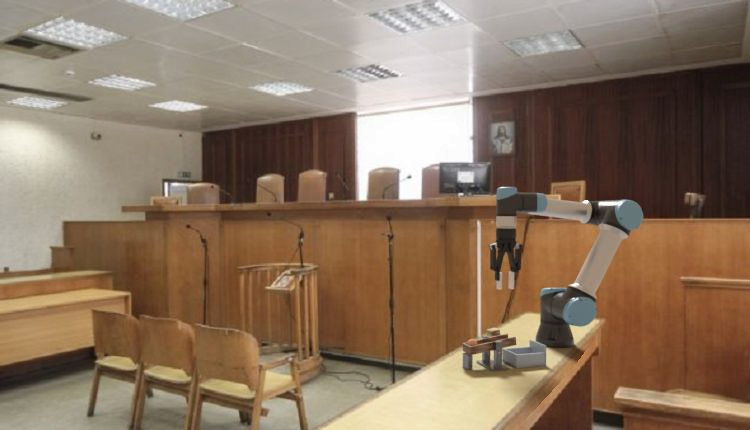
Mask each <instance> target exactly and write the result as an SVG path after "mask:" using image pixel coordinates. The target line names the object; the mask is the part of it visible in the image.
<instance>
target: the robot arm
mask: <svg viewBox="0 0 750 430" xmlns="http://www.w3.org/2000/svg"><path fill="white" fill-rule="evenodd" d="M495 197H496V198H495V201H496V205H495V206H496V208H495V209H496V212H495V216H496V217H495V218H496V219H495V223H496V226H495V227H496V229H495V238H496V239H495V243H490V244H488V247H489V252H490V253H489V254H490V256H489V269H490V271H493V272H494V280H495V281H496V290H499V291H503V272H501V269H502V267H503V266H502V265H503V260H504V256H505V254H507V260H508V264H509V270H510V271H508V289H509V290H515V281H516V279H517V273H518V271H521V269H522V250H523V247H524V245H523V244H520V243H518V242H517V240H516V238H517V229H516V227H518V226H517V213H518V214H526V215H534V216H542V217H551V218H557V219H558V218H559V219H566V220H573V221H579V222H580V223H581V224H586V225H591V226H596V227H598V228H599V230H600V231H599V233H598V235H597V237H596V239H595V240H594V243H593V245H592V247H591V249H590V251H589V253H588V255H587V256H586V258H585V260H584V263H583V264H582V266H581V268H580V271H579V273H578V275H577V277H576V279H575V280H574V283H571V284H568V285H567V287H544V288H542V289H541V290H540V295H539V298H540V302H539V303H540V308H539V309H540V310H539V312H540V314H539V315H540V316H539V318H540V319H539V326H538V329H537V332H536V334H535V341H536V342H538V343H541V344H544V345H546V347H551V348H552V347H553V348H570V347H573V346H575V338H574V336H573V332H572V329H571V326H574V327H586V326H589V325H590V324H591V323H592V322H593V321H594V320H595V318H596V317H597V313H598V312H597V311H598V310H597V309H598V308H597V305H596V302H597V300H598V297H597V295H596V292H597V290H598V289H599V286H600V285H601V283H602V281H603V279H604V277H605V274H606V273H607V271H608V269H609V267H610V265H611V263H612V261H613V258H614V257H615V255H616V252H617V251H618V249H619V247H620V244H621V243H622V241H623V240H626V239H628V238H629V236H630V235H631V233H632V231H634V230H637V229H638V228H640V227H641V226H642V224H643V222H644V212H643V210H642V207H641V205H639V203H637V202H636V201H634V200H630V199H615V200H614V199H613V200H612V199H611V200H610V199H607V200H605V199H604V200H594V201H593V200H583V201H582V202H580V201H572V200H566V199H565V200H563V199H557V198H549V197H547V195H546V194H545V193H542V192H541V193H540V192H519V191H518V188H517V187H515V186H501V187H500V186H499V187H497V189H496V195H495ZM514 249H515V250H514Z"/></svg>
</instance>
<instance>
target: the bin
mask: <svg viewBox="0 0 750 430" xmlns="http://www.w3.org/2000/svg"><path fill="white" fill-rule="evenodd" d="M503 362H504V363H506V364H507V365H509V366H512V367H514V368H516V369H518V368H519V369H521V368H532V367H543V366H547V346H546V345H544V344H541V343H538V342H536V340H533V339H529V346H521V347H520V346H519V347H510V348H509V347H505V348H502V363H503Z"/></svg>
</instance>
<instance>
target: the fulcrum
mask: <svg viewBox="0 0 750 430" xmlns="http://www.w3.org/2000/svg"><path fill="white" fill-rule="evenodd" d="M489 337H490V336H487V335H482V338H481V339H484V338H489ZM491 352H493V359H491ZM473 358H474V356H473V355H469V354H467V353H466V352H462V367H463V368H464V369H466V370H468V371H471V370H473ZM502 359H503V348H502V341H494V350H492V351H487V352H483V353H481V360H476V363H477V364H479V365H481V366H482V367H484V368H486V369H487V370H489V371H491V372H497V371H499V372H500V371H508V370H509V368H508V367H507V366H504V365H503V361H502Z"/></svg>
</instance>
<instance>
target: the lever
mask: <svg viewBox="0 0 750 430" xmlns="http://www.w3.org/2000/svg"><path fill="white" fill-rule="evenodd" d="M485 330H486V336H490V337H489V338H484V339H482V338H480V339H475V340H476V341H477V345H475V346H470V345H468V344H467V343H468V341H465V342H462V343H461V344H462V345H461V347H462V351H463V353H467V354H469V355H472V356H473V355H474V356H475V355H478V354H482V353H483V352H487V351H490V352H493V351H492V350H494V341H502V349H505V348H509V347H513V346H517V337H516V336H512V337H509V334H508V333H504V334H501V330H500V329H499V328H497V327H491V328H486V329H485Z"/></svg>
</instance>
